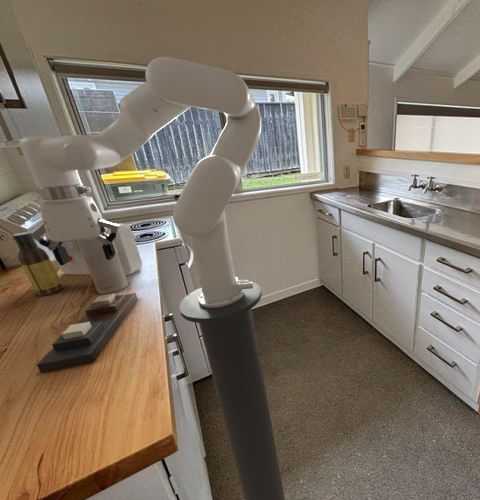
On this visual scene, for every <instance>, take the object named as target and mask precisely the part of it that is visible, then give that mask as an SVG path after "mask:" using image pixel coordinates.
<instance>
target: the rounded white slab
mask: <svg viewBox="0 0 480 500" xmlns="http://www.w3.org/2000/svg"><path fill="white" fill-rule="evenodd" d="M117 224H118V225H119V226H120V229H119V232H118V235H117V236H116V238H115V239H114V241H113V242H114V245H115V248H116V251H117V253H118V257H119V260H120V263H121V265H122V268H123V271H124V274H125V276H129V275H132V274H133V273H135V272H137V271H139V270H140V269H142V268H143V262H142V259H141V256H140V251H139V249H138V246H137V242H135V241H136V238H135V239H134V236H135V235H134V236H133V233H134V232H133V230H132V228H131V227H130V226H129V225H128V224H126V223H117ZM109 230H110V233H111V229H109ZM132 232H133V233H132ZM44 236H45V238H47V239H50V238H49V236H48V234H47V232H46V233H44ZM50 240H51V239H50ZM61 246H62V247H63V246H64V247H65V248H66V251H67V253H68V256H69V258H70V261H69V262H68V263H66V264H65V265H60V264H59V262H58V261H57V260H56V258H55V255H54V253H53V251H51V252H52V254H53V257H54V259H55V261H56V264H57V266H58V269H60V270H59V271H60V272H62V273H63V274H64V275H65V274H66V275H79V276H80V275H84V276H85V275H87V276H88V275H89V276H91V274H90V272H89V269H88V267H87V264H86V261H85V259H84V256H83V254H82V251H81V249H80V246H79V244H78V241H67V242H63V244H62V245H61Z"/></svg>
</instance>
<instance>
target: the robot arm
mask: <svg viewBox="0 0 480 500" xmlns="http://www.w3.org/2000/svg"><path fill="white" fill-rule="evenodd" d="M145 80H146V81H145V82H143V83H142V84H140V85H139V86H138V87H136V88H134V89H132V90H131V91H130V92H129V93H127V94H126V95H124V96H123V97H122V98H121V99H120V101H119V114H118V117H117V118H116V119H115V120H114V121H113V122H112V123H111V124H110V125H109V126H107V127H105V128H104V129H103V130H101V131H100V132H99V133H97V134H95V135H93V134H70V135H62V136H24V137H22V138H20V140H19V147H20V150H21V152H22V154H23V157H24V159H25V162H26V165H27V167H28V169H29V171H30V174H31V177H32V179H33V180H34V184H35V186H36V188H37V190H38V191H37V192H38V193H39V196H40V198H41V200H40V201H39V209H40V210H39V211H40V216H41V219H42V224H43V226H42V227H40V228H39V229H37V230H35V231H34V232H31V233H32V234H31V236H32V237H33V238H34V240H35V241H36V242H38V243H39V244H40V245H41V246H43V247H45V248H47V249H48V250H49V251H51V252H52V251H53V252H52V254H53V253H54V255H55V257H54V259H55V258H56V259H55V261H56V260H57V261H58V262H59V264H60V265H65V264H66V263H68V262H69V261H70V258H69V256H68V253H67V251H66V248H65V247H64V246H63V247H62V246H61V245H62V244H63V242H67V241H77V240H86V239H94V238H96V239H97V240H99V241H100V242H102V243H103V244H104V245H103V246H102V248H103V251H104V253H105V256H106V259H108V260H110V259H112V258H113V257H114V256H115V254H116V252H115V249H114V246H113V243H112V241H114V239H115V238H116V236H117V235H118V232H119V229H120V226H119V225H118V224H119V223H113V222H110V221H108V220H106V221H104V220H105V219H104V218H103V215H102V213H101V212H100V210H99V208H98V206H97V204H96V203H95V201H94V200H93V197H92V196H87V194H88V193H91V192H92V189H91V187H90V186H85V185H84V184H83V183H82V180H81V178H80V175H79V172H78V171H94V170H99V169H108V168H113V167H115V166H117V165H119V164H120V163H122V162H123V161H125V160H126V159H128V158H129V157H131V156H132V155H134V154H135V153H136V152H138V151H139V150H140V149H141V148H142V147H144V146H145V144H146V143H148V142H149V141H150V140H151V139H152V138H153V136H154V135H155V134H156V133H158V132H159V131H160V130H162V129H163V128H165V127H166V126H167V125H169V124H170V123H171V122H173V121H174V120H175V119H177V118H179V117H180V116H181V115H182V114H185V113H186V112H187V111H188V110H189V109H191V108H197V109H202V110H207V111H213V112H217V113H223V114H224V115H225V119H226V122H225V125H224V128H223V129H222V131H221V133H220V134H219V136H218V138H217V141H216V143H215V145H214V147H213V148H212V151H211V152H210V154H209V155H208V156H206V157H203V158H201V159H200V160H199V161H198V162H197V163H196V164H195V166H194V168H193V169H192V170H191V173H190V175H189V176H188V179H187V181H186V183H185V185H184V187H183V189H182V191H181V193H180V195H179V196H178V199H177V200H176V202H175V205H174V207H173V211H172V220H173V223H174V224H175V227H176V228H177V229H178V230H179V231H180V232H181V233H182V234H184V235H186V236H189V240H190V245H191V250H192V254H193V259H194V263H195V267H196V271H197V276H198V279H199V284H200V288H202V292H203V293H202V294H201V295H200V296H199V297H198V301H199V304H200V305H201V306H203V307H207V308H217V307H223V306H227V305H230V304H232V303H234V302H236V301H238V300H239V299H240V298H241V297H242V296H243V295H244V289H251V288H253V282H254V281H252V282H249V281H250V280H249V279H244V280H245V281H238V280H239V277H238V276H236V272H235V267H234V262H233V256H232V251H231V245H230V239H229V234H228V226H227V218H226V210H225V209H226V207H227V206H228V204H229V202H230V200H231V198H232V196H233V195H234V193H235V191H236V189H237V187H238V186H239V184H240V182H241V178H242V177H243V174H244V171H245V169H246V168H247V165H248V164H249V162H250V160H251V158H252V155H253V153H254V152H255V149H256V148H257V145H258V143H259V140H260V137H261V133H262V117H261V113H260V109H259V108H258V105H257V103H256V101H255V99H254V98H253V96H252V94H251V92H250V88H249V86H248V85H247V83H246V82H245V80H244V79H243V78H242V77H241V76H240V75H238V74H237V73H235V72H234V71H231V70H228V69H224V68H220V67H216V66H212V65H207V64H203V63H198V62H194V61H190V60H185V59H181V58H176V57H172V56H158V57H156V58H153V59H152V60H151V61H150V62H149V63H148V64H147V66H146V69H145ZM100 213H101V214H100ZM101 215H102V216H101ZM103 219H104V220H103ZM107 228H109V229H111V234H110V235H108V234H106V232H107ZM46 232H47V234H48V236H49V238H50V239H51V240H50V239H47V238H46V236H45V233H46ZM54 255H53V256H54ZM57 261H56V262H57Z"/></svg>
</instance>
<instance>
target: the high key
mask: <svg viewBox="0 0 480 500" xmlns="http://www.w3.org/2000/svg"><path fill="white" fill-rule="evenodd" d="M91 328H92V326H91V324H90V322H85V323H79V324H76V323H74V324H70V325H69V326H68V327H67V328H66V329H65V330H64V331H63V332H62V333H61V335H63V338H64V340H65V339H70V338H76V337H81V336H85V335H86V334H87V333H88V331H89V330H90V329H91Z"/></svg>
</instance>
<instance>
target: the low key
mask: <svg viewBox="0 0 480 500" xmlns="http://www.w3.org/2000/svg"><path fill="white" fill-rule="evenodd" d="M115 296H116V295H115V293H109V294H104V295H103V294H102V295H99V296H98V297H97V298H95V299H94V301H93V302H92V303H93V305H94V307H99V306H105V305H111V304H112V303H113V302H114V301H115V300H116V297H115Z"/></svg>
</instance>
